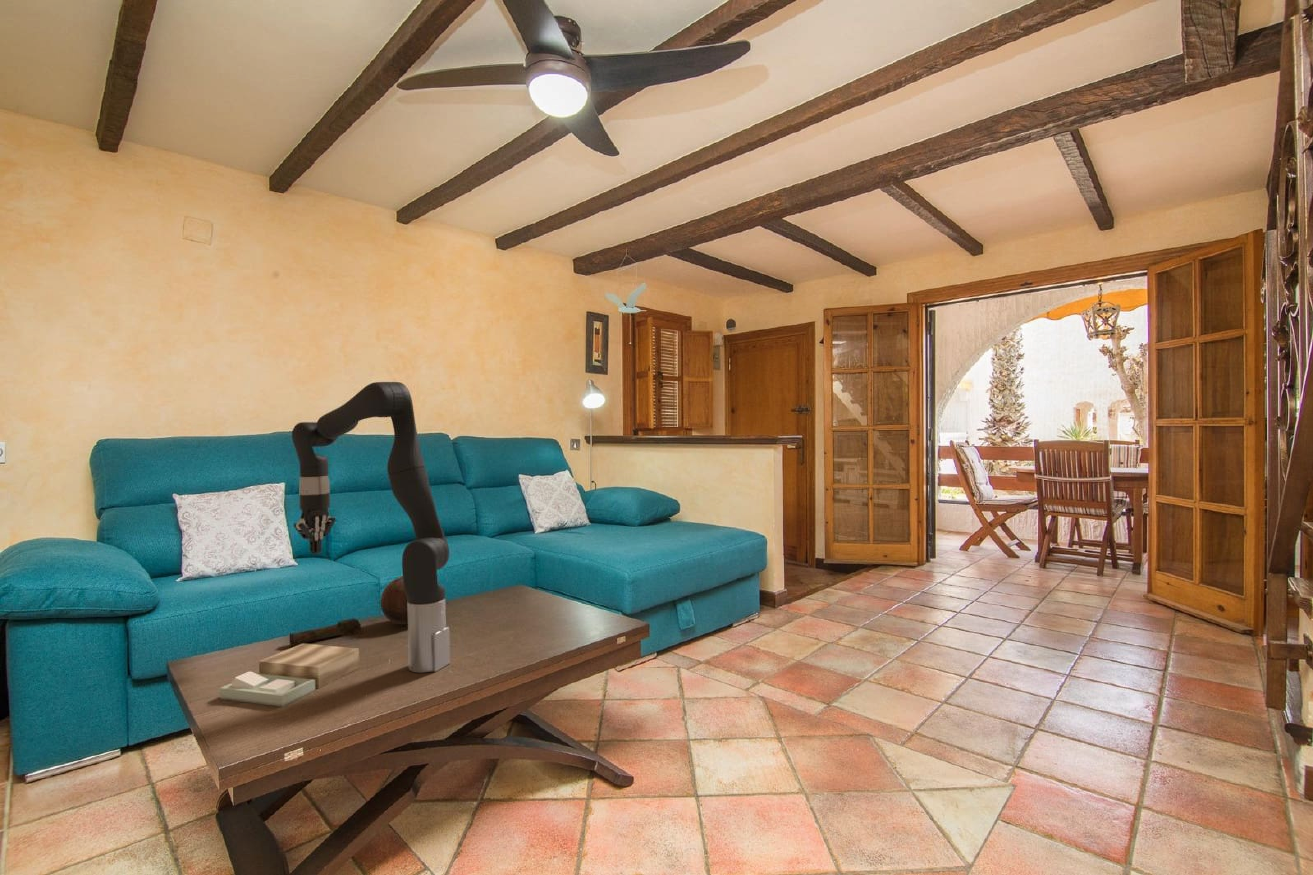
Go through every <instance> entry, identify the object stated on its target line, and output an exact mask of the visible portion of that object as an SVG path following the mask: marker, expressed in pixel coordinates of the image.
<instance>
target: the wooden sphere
mask: <svg viewBox="0 0 1313 875" xmlns="http://www.w3.org/2000/svg"><path fill="white" fill-rule="evenodd" d="M380 609H381V611H382V613H383V615H384V617H385V618H386V619H387V620H389V622H392V623H393V624H397V625H408V607H407V595H406V593H405V591H404V585H403V576H400V577H397V578H396V579H393V580H392V581H391V582H389V583H388V584H387V585H386V586H385V587H384V589H383V592H382V594H381V597H380Z"/></svg>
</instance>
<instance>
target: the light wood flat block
mask: <svg viewBox="0 0 1313 875" xmlns="http://www.w3.org/2000/svg"><path fill="white" fill-rule="evenodd" d="M358 669H360V649H359V648H357V647H355V648H354V647H345V646H336V645H335V646H334V645H323V644H315V643H314V644H313V643H303V644H300V645H295V646H294V647H291V648H288V649H286V650H283V651H281V652H278V653H276V654H273V655H270V656H269V657H266V658H264V659H261V660H259V661H258V673H260V674H269V675H278V676H287V677H296V678H305V679H314V680H315V689H320V688H323V687H325V686H327V685H328V684H330V683H332V682H334V681H337V680H338V679H340V678H342V677H344V676H347V675H348V674H350V673H352V672H354V671H356V670H358Z"/></svg>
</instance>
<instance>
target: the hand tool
mask: <svg viewBox="0 0 1313 875" xmlns="http://www.w3.org/2000/svg"><path fill="white" fill-rule="evenodd" d="M361 626H362V625H361V623H360V621H359V620H358V619H356V618H348V619H342V620H340V621H337V624H333V625H328V626H325V627H320V628H319V627H318V628H315V629H309V630H305V631H300V632H296V633H289V644H290V646H291V648H293V647H295V646H298V645H300V644H303V643H304V644H308V643H311V642H314V641H320V640H324V639H328V638H331V637H332V638H333V637H337V636H339V637H347V636H350V635H353V634H356V633H358V632H360V631H361V629H362V627H361Z"/></svg>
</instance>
